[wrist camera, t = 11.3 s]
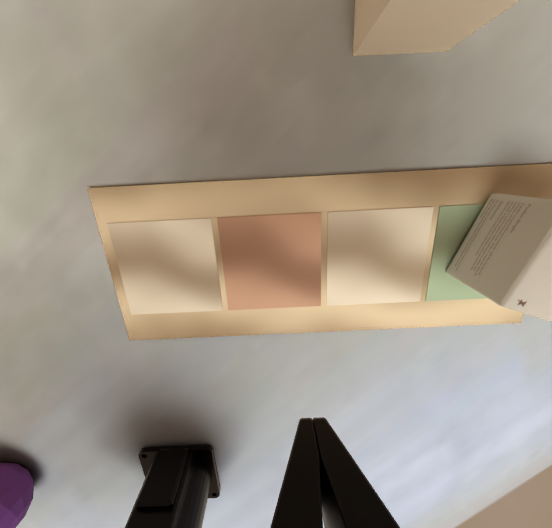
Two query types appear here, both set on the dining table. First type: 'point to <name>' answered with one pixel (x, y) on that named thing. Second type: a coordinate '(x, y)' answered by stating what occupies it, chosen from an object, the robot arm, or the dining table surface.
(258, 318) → the game board
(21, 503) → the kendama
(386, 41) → the die
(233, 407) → the dining table surface
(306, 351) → the dining table surface
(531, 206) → the small box
